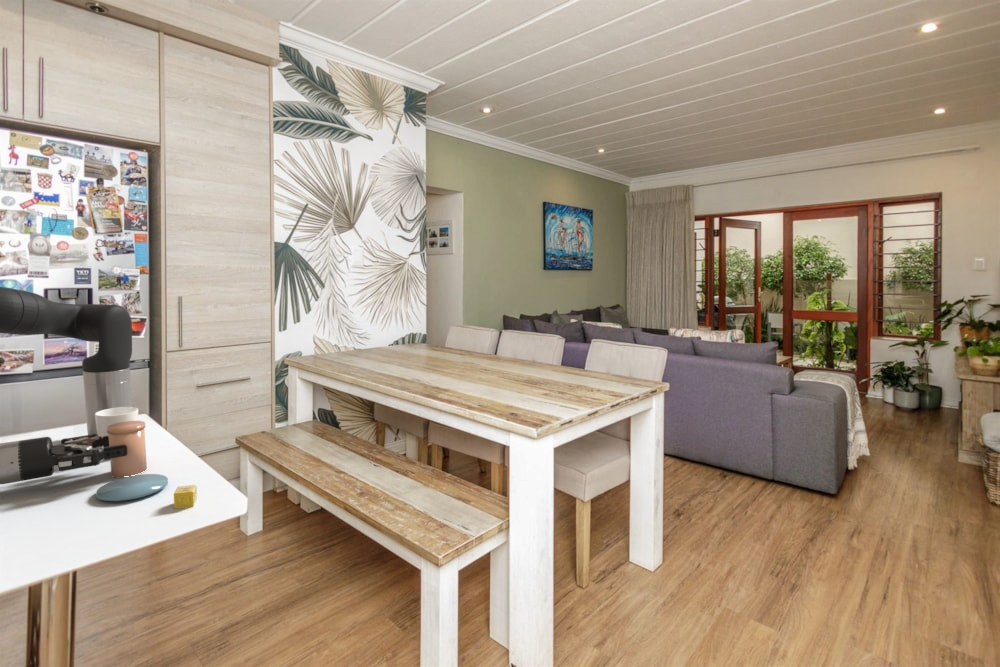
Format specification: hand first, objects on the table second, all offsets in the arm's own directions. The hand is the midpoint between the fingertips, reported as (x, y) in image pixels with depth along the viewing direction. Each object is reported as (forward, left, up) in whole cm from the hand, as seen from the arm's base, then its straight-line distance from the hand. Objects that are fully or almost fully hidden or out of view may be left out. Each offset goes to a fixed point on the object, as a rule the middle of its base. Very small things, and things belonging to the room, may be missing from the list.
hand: (126, 444), depth 105 cm
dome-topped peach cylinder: (0, 0, -6) cm, 6 cm away
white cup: (-14, -1, -6) cm, 15 cm away
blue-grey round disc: (+12, 0, -6) cm, 13 cm away
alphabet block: (+24, +7, -6) cm, 26 cm away
